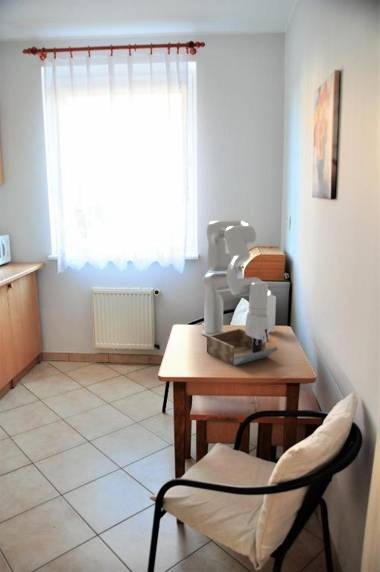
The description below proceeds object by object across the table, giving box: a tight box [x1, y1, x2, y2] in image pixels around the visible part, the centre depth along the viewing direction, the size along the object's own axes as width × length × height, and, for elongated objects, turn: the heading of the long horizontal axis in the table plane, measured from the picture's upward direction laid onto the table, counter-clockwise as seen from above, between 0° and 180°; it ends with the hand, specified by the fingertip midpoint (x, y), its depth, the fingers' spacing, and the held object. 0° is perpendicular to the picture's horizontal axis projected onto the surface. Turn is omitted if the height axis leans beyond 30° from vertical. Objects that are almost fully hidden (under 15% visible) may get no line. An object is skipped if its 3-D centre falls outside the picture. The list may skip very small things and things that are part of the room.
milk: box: [267, 289, 277, 333], centre depth 240 cm, size 6×6×22 cm
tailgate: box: [233, 347, 278, 366], centre depth 196 cm, size 1×19×8 cm
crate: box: [206, 328, 266, 365], centre depth 207 cm, size 18×19×8 cm
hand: (256, 352), depth 196 cm, fingers closed
